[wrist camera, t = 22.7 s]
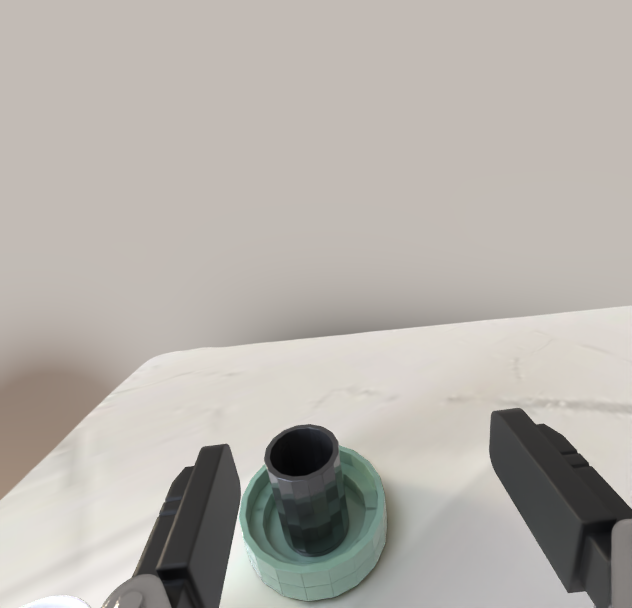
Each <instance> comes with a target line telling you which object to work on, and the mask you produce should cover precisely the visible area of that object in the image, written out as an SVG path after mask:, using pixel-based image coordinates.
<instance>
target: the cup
mask: <svg viewBox="0 0 632 608" xmlns="http://www.w3.org/2000/svg"><path fill="white" fill-rule="evenodd" d="M264 461H265V465H266V469H267V473H268V477H269V481H270V485H271V489H272V493H273V497H274V501H275V505H276V509H277V513H278V517H279V521H280V525H281V529H282V532H283V536H284V539H285V541H286V543H287V545H288V546H289V547H290V548H291V549H292V550H293V551H294V552H296V553H298V554H300V555H302V556H306V557H320V556H323V555H326V554H329V553H330V552H332V551H334V550H335V549H336V548H338V547H339V546H340V545H341V543H342V542H343V541H344V539H345V537H346V535H347V533H348V529H349V512H348V504H347V497H346V491H345V484H344V477H343V470H342V464H341V457H340V450H339V443H338V441H337V439H336V437H335V436H334V434H333V433H332V432H331V431H329V430H327V429H326V428H324V427H322V426H317V425H311V424H308V425H298V426H294V427H292V428H289V429H286V430H284V431H283V432H281V433H280V434H278V435H277V436H276V437H274V438H273V440H272V441H271V442H270V444H269V445H268V447H267V448H266V452H265V457H264Z"/></svg>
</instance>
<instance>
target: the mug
mask: <svg viewBox="0 0 632 608" xmlns="http://www.w3.org/2000/svg"><path fill="white" fill-rule="evenodd" d="M20 608H91V607H90V606H89V605H88V604H87V603H86V602H85V601H84V600H82V599H80V598H77V597H74V596H69V595H57V596H50V597H46V598H42V599H39V600H36V601H33V602H31V603H29V604H26V605H24V606H22V607H20Z"/></svg>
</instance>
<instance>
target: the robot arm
mask: <svg viewBox="0 0 632 608" xmlns="http://www.w3.org/2000/svg"><path fill="white" fill-rule="evenodd" d="M489 453H490V459H491V463H492V466H493V468H494V470H495V472H496V474H497V476H498V478H499V479H500V481H501V483H502V484H503V486H504V487H505V489H506V491H507V492H508V494H509V496H510V497H511V499H512V501H513V502H514V504H515V506H516V507H517V509H518V511H519V512H520V514H521V516H522V517H523V519H524V521H525V522H526V524H527V526H528V527H529V529H530V531H531V532H532V534H533V536H534V537H535V539H536V541H537V542H538V544H539V546H540V547H541V549H542V550H543V552H544V554H545V555H546V557H547V559H548V560H549V562H550V564H551V565H552V567H553V569H554V570H555V572H556V574H557V575H558V577H559V579H560V580H561V582H562V584H563V585H564V587H565V589H566V590H567V592H568V593H574V592H583V591H586V592H587V594H588V595H589V597H590V598H591V600H592V601H593V603H594V604H595V605H594V608H632V509H631V508H630V507H629V506H628V505H627V504H626V503H625V501H624V500H623V499H622V498H621V497H620V496H619V495H618V494H617V493H616V492H615V491H614V490H613V489H612V488H611V486H610V485H609V484H608V483H607V482H606V481H605V480H604V479H603V478H602V477H601V476H600V475H599V474H598V473H597V471H596V470H595V469H594V468H593V467H592V466H589V463H588V462H587V461H586V460H585V459H584V458H583V456H582V455H581V454H580V453H579V454H578V453H577V450H576V449H575V448H574V447H573V446H572V445H571V444H570V442H569V441H568V440H567V439H566V438H565V437H564V436H563V435H561V434H560V433H558V432H557V431H555V430H553V429H552V428H550V427H548V426H547V425H545V424H537V425H536V424H535V423H534V422H533V421H532V420H531V419H530V417H529V416H528V415H527V414H526V413H525V412H524V411H523V410H522V409H520V408H515V409H507V410H499V411H493V412H492V414H491V425H490V445H489ZM240 497H241V488H240V480H239V477H238V473H237V470H236V466H235V463H234V460H233V456H232V453H231V449H230V447H229V445H228V444H221V445H213V446H205V447H202V448H201V450H200V452H199V455H198V458H197V460H196V463H195V466H191V467H185V468H184V469H183V470H182V472H181V473H180V474H179V475H178V476H177V478H176V479H175V480H174V481H173V482H172V485H171V487H170V489H169V492H168V494H167V496H166V499H165V502H164V503H163V506H162V508H161V510H160V513H159V514H160V515H159V517H158V518H157V520H156V522H155V525H154V527H153V529H152V532H151V534H150V536H149V539H148V541H147V543H146V546H145V548H144V551H143V553H142V555H141V558H140V560H139V562H138V565H137V567H136V569H135V572H134V574H133V576H132V578H131V579H129V580H127V581H126V582H124V583H123V584H121V585H120V586H119V587H118V588H117V589H116V590H114V591H113V592H112V594H111V595H110V596H109V597H108V598H107V599H106V601H105V602H104V604H103V605H102V607H101V608H219V604H220V599H221V594H222V589H223V584H224V579H225V574H226V569H227V564H228V559H229V555H230V550H231V545H232V540H233V535H234V530H235V525H236V520H237V515H238V510H239V505H240Z"/></svg>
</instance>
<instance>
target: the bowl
mask: <svg viewBox="0 0 632 608" xmlns="http://www.w3.org/2000/svg"><path fill="white" fill-rule="evenodd" d="M339 450H340V457H341V464H342V470H343V477H344V484H345V491H346V497H347V504H348V512H349V529H348V533H347V535H346V537H345V539H344V541H343V542H342V543H341V545H340V546H339V547H338V548H336V549H335V550H334V551H332V552H330V553H329V554H326V555H323V556H320V557H306V556H302V555H300V554H298V553H296V552H294V551H293V550H292V549H291V548H290V547H289V546H288V545H287V543H286V541H285V539H284V536H283V532H282V529H281V525H280V521H279V517H278V513H277V509H276V505H275V501H274V497H273V493H272V489H271V485H270V481H269V477H268V473H267V469H266V465H264V466H263V467H262V468H261V469H260V470H259V471H258V472H257V473H256V474H255V476H254V477H253V478H252V479H251V481H250V483H249V485H248V487H247V489H246V491H245V493H244V495H243V497H242V502H241V508H240V514H239V520H240V525H241V530H242V535H243V539H244V542H245V546H246V549H247V552H248V555H249V558H250V562H251V564H252V566H253V567H254V569H255V570H256V572H257V573H258V575H259V577H260V578H261V580H262V581H263V582H264V583H265V584H266V585H268V586H269V587H271V588H272V589H274V590H275V591H277V592H278V593H279V594H281V595H282V596H286V597H290V598H295V599H299V600H304V601H313V600H320V599H327V598H333V597H336V596H338V595H340V594H342V593H344V592H345V591H347V590H349V589H351V588H353V587H355V586H357V585H358V584H359V583H360V582H361V581H362V580H363V579H364V578H365V577H366V576H367V575H368V573H369V572H370V571H371V570H372V569H373V568H374V567H375V565H376V563H377V561H378V559H379V557H380V554H381V552H382V550H383V548H384V545H385V543H386V532H387V513H386V502H385V494H384V490H383V486H382V483H381V479H380V476H379V475H378V473H377V472H376V471H375V469H374V468H373V466H372V465H371V464H370V462H369V461H368V460H366V459H365V458H364V457H362V456H361V455H359V454H358V453H357V452H355V451H354V450H351V449H348V448H345V447H342V446H340V445H339Z"/></svg>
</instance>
